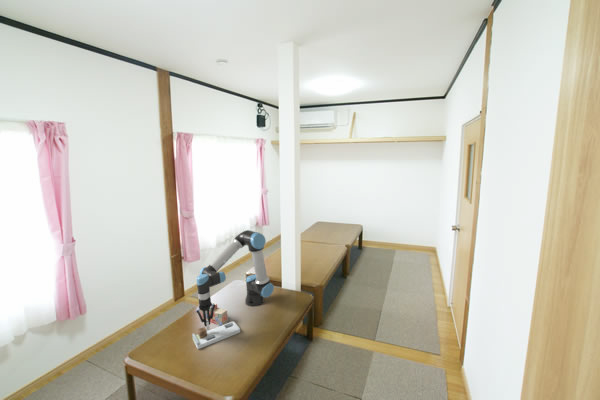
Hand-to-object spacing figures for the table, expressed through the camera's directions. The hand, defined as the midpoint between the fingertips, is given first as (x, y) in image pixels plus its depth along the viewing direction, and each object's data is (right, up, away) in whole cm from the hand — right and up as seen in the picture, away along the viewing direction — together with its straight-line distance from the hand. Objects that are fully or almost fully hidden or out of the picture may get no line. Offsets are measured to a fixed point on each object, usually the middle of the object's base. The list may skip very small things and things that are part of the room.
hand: (207, 329), depth 190 cm
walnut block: (-3, -3, -3) cm, 5 cm away
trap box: (+6, -5, +1) cm, 8 cm away
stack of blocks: (-2, -3, +19) cm, 20 cm away
